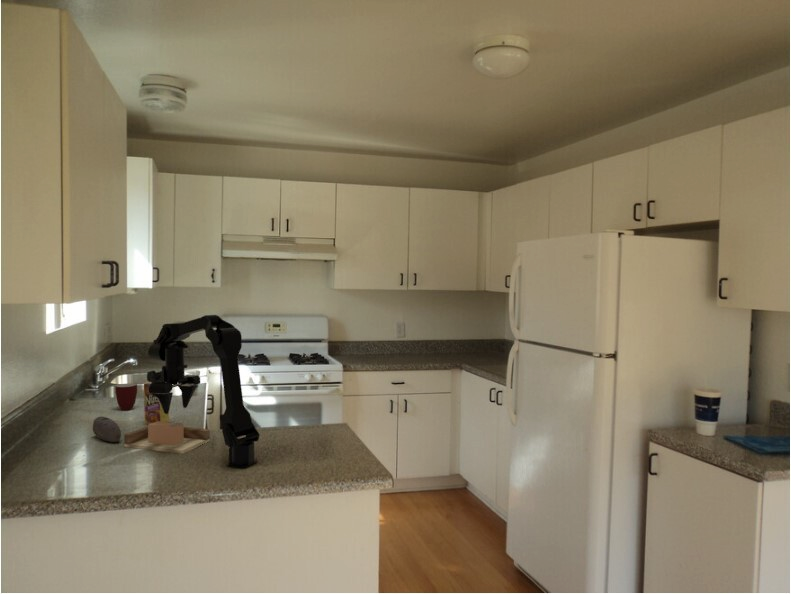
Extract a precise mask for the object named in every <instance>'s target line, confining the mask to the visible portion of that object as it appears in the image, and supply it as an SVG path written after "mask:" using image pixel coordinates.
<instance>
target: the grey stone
mask: <svg viewBox="0 0 791 594" xmlns="http://www.w3.org/2000/svg"><path fill="white" fill-rule="evenodd" d="M92 432H93V434H94V435H95V436H96V437H97V438H98V439H100V440H104V441H106V442H110V443H118V442H119V441H120V439H121V436H122V430H121V428H120V425H118V423H116V422H115V421H114V419H111V418H110V417H107V416H98V417H96V418H95V419H94V420H93V424H92Z"/></svg>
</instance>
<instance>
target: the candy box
mask: <svg viewBox="0 0 791 594" xmlns="http://www.w3.org/2000/svg"><path fill="white" fill-rule="evenodd" d="M150 384H152V383H151V382H148V381H147V382H144V383H143V404H144V405H143V407H144V412H143V413H144V424H145V425H148V424H151V423H154V422H157V421H161V422H170V412H169V413H168V414H165V413H164V411H163V408H162V406H161V403H160V401H159V399H158V398H157V397H156V396H155V395H152V394H151V393H149V392H148V386H149V385H150Z"/></svg>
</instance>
